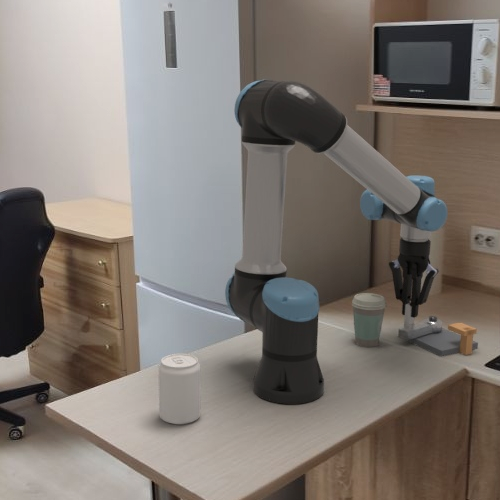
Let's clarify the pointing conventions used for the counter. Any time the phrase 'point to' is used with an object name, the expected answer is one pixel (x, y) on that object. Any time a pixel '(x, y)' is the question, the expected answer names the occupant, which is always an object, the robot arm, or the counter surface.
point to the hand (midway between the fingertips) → (408, 328)
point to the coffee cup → (368, 318)
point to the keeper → (464, 336)
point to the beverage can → (179, 389)
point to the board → (441, 342)
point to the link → (421, 328)
